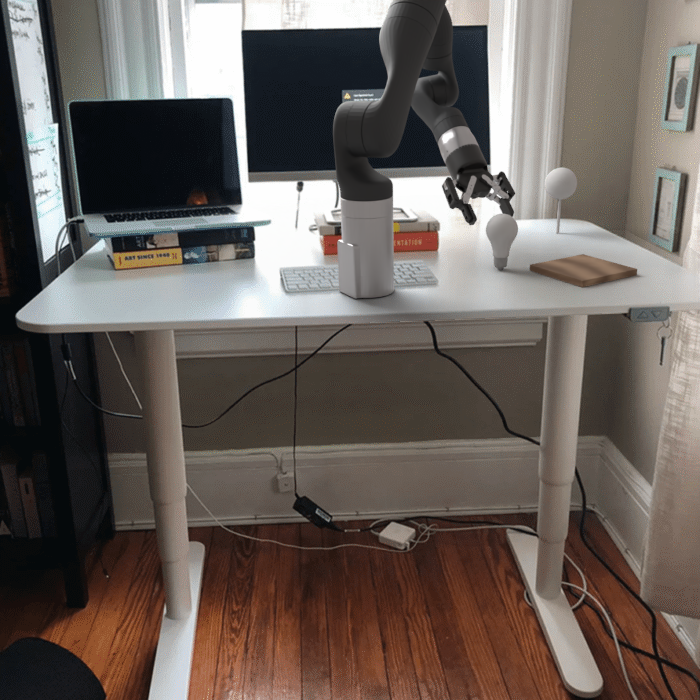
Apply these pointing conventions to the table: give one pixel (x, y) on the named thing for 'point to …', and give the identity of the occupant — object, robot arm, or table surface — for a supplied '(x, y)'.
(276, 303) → the table surface
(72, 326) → the table surface
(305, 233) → the table surface
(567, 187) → the lollipop
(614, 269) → the walnut board
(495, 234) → the lightbulb
